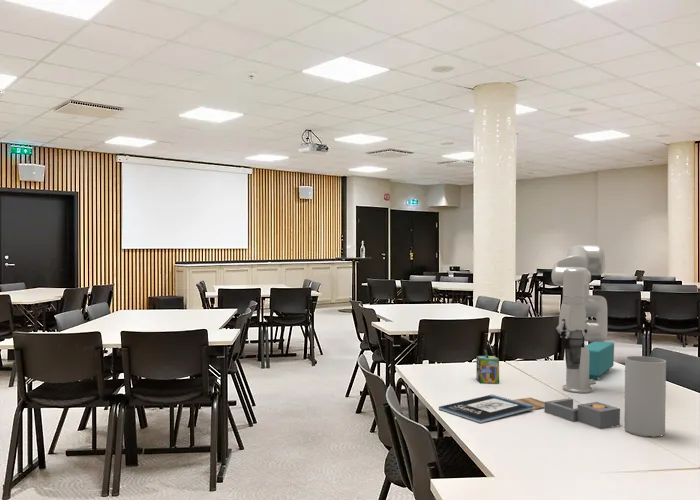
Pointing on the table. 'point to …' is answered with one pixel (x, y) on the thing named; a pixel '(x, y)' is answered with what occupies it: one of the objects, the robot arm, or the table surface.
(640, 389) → the cylinder vase
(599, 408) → the brown egg
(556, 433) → the table surface
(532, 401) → the pad
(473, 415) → the sketchbook
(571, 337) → the beverage cup
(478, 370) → the chalk box
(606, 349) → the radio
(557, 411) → the grey hollow tray
